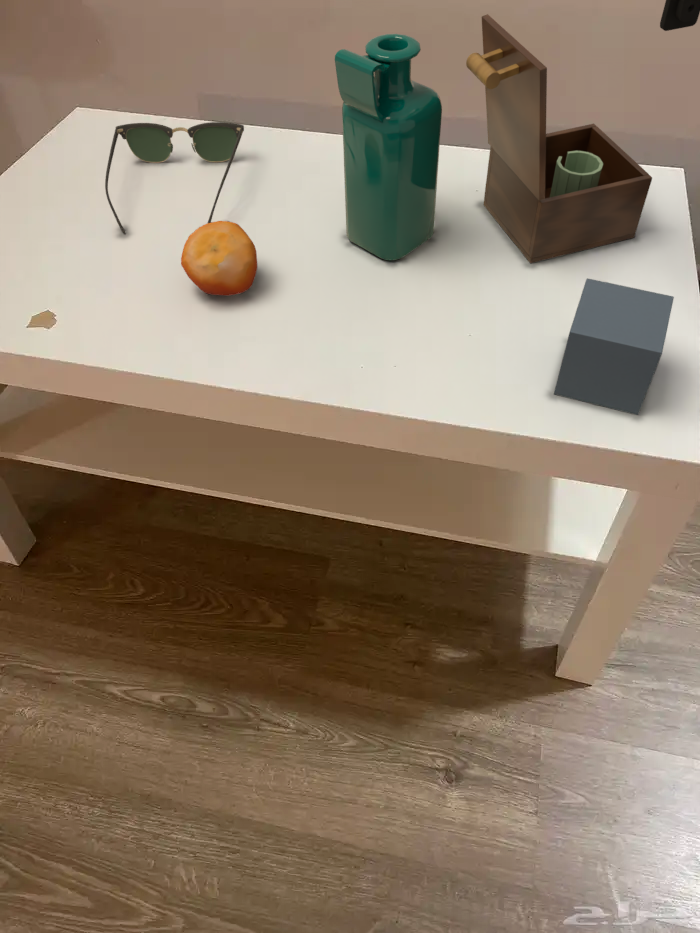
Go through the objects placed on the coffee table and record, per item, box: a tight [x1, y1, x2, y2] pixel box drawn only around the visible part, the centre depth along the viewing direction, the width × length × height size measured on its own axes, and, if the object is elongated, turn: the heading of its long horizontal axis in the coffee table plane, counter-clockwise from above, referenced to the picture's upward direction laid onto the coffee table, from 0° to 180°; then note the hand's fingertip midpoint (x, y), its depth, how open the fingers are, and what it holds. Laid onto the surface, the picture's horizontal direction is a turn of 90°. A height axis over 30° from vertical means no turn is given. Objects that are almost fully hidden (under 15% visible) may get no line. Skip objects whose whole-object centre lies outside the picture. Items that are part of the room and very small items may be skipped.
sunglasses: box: [104, 121, 245, 234], centre depth 97 cm, size 16×17×5 cm
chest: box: [483, 123, 653, 264], centre depth 90 cm, size 13×12×8 cm
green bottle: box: [334, 33, 443, 261], centre depth 83 cm, size 10×8×22 cm
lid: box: [465, 13, 548, 201], centre depth 80 cm, size 14×12×4 cm
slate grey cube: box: [553, 278, 675, 416], centre depth 74 cm, size 8×8×8 cm
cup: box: [550, 151, 603, 197], centre depth 90 cm, size 5×5×6 cm
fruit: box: [180, 220, 258, 297], centre depth 85 cm, size 8×8×8 cm
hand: (645, 5), depth 68 cm, fingers open, 9 cm apart
